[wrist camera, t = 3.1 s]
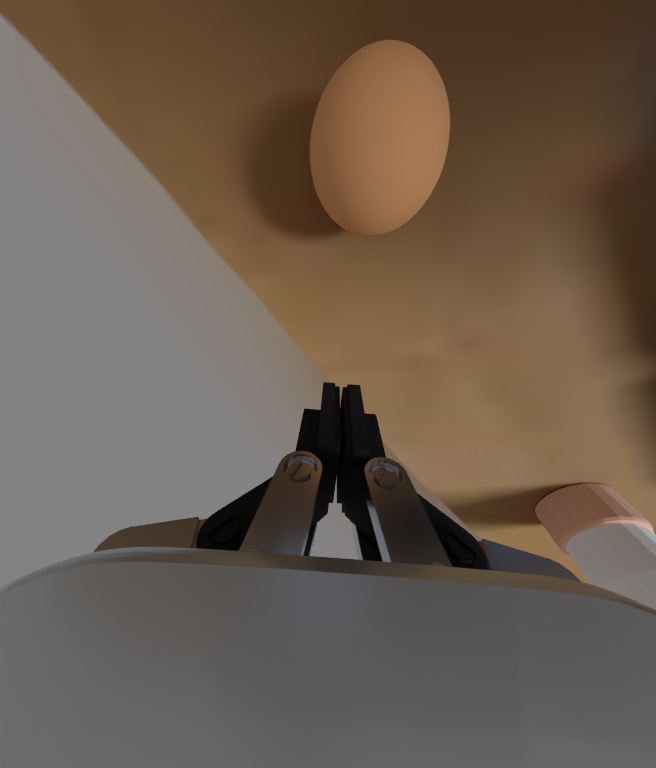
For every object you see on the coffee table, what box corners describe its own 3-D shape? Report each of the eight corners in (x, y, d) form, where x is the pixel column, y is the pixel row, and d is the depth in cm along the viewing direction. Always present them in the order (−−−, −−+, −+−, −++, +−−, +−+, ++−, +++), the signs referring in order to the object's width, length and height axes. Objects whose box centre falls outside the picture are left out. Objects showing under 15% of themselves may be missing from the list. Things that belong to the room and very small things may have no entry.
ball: (439, 100, 11) (517, -17, 6) (408, 241, 13) (444, 239, 9) (319, 90, 11) (300, -33, 6) (314, 233, 13) (298, 227, 9)
